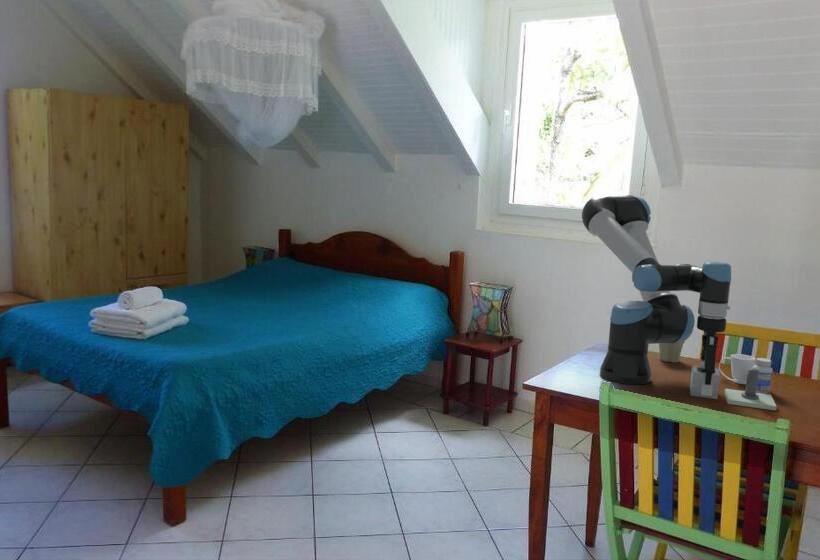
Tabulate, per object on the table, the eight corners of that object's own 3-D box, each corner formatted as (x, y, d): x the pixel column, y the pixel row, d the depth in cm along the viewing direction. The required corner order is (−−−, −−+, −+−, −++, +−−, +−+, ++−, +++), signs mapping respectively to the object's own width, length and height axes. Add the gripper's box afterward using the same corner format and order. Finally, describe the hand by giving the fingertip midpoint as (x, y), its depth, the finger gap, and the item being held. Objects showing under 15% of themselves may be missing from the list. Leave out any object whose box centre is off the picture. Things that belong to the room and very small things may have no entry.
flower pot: (688, 360, 232) (690, 336, 230) (678, 365, 225) (680, 340, 223) (660, 355, 238) (663, 331, 236) (650, 359, 231) (652, 335, 229)
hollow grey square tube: (690, 395, 194) (693, 371, 193) (689, 388, 200) (692, 365, 199) (717, 399, 191) (720, 375, 190) (715, 392, 198) (718, 369, 197)
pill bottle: (750, 387, 204) (754, 356, 203) (771, 391, 201) (775, 359, 200) (748, 391, 200) (752, 359, 198) (768, 395, 197) (772, 363, 195)
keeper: (727, 403, 188) (731, 371, 186) (724, 392, 198) (728, 362, 196) (776, 410, 184) (780, 378, 182) (770, 398, 194) (774, 367, 192)
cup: (751, 387, 204) (755, 361, 203) (715, 380, 209) (718, 355, 208) (753, 381, 210) (756, 356, 209) (718, 375, 215) (721, 350, 214)
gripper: (730, 325, 179) (722, 402, 182) (723, 310, 202) (715, 379, 205) (700, 322, 182) (692, 398, 185) (695, 308, 205) (689, 376, 208)
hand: (704, 388), depth 195 cm, fingers open, 13 cm apart
